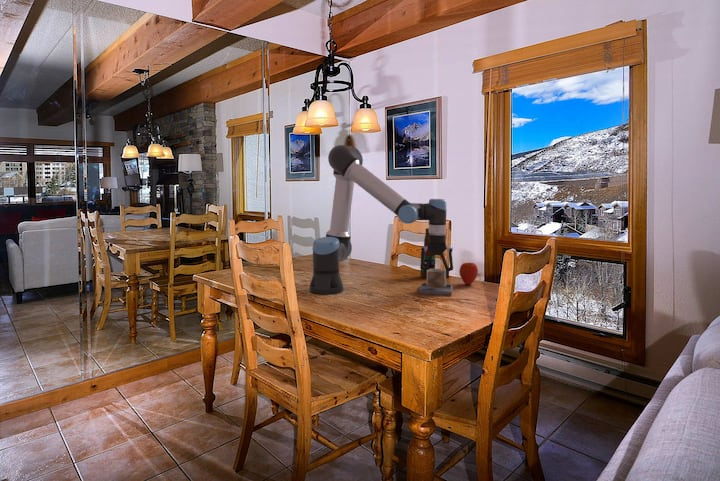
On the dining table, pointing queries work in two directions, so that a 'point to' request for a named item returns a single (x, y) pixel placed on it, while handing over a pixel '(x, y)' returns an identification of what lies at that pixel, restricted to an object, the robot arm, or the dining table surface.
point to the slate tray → (436, 290)
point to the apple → (468, 272)
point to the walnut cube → (436, 278)
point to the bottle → (427, 254)
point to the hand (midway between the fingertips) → (436, 285)
